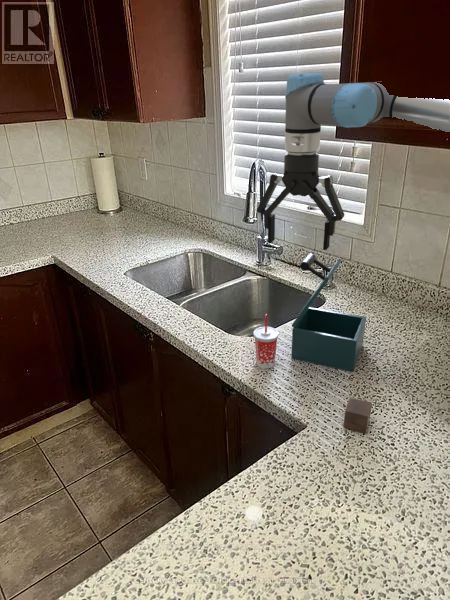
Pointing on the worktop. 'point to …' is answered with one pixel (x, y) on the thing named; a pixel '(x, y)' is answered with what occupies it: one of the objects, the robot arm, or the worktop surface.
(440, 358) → the worktop surface
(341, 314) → the teal hinged box
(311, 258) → the lid
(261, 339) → the beverage cup
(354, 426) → the block
